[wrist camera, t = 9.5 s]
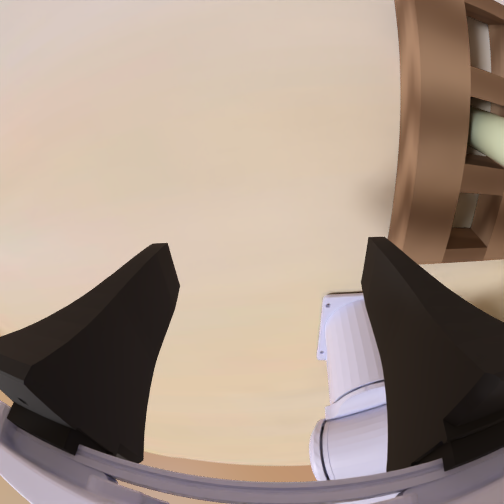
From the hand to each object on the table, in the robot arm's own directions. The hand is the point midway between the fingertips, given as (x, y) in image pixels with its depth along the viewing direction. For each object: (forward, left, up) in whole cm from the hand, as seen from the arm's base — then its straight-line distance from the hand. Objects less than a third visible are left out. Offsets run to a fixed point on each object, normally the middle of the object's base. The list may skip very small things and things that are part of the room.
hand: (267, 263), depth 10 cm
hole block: (+4, -15, -10) cm, 18 cm away
